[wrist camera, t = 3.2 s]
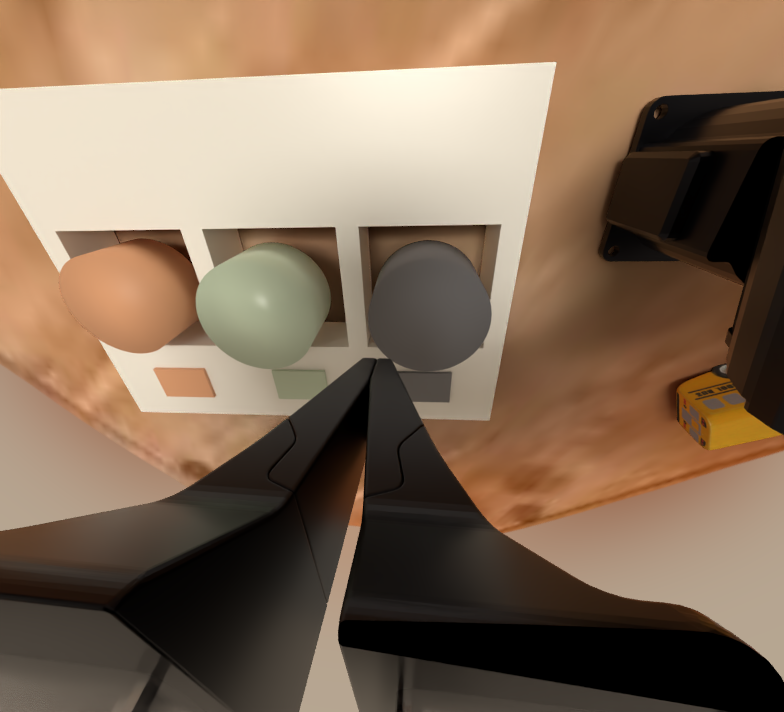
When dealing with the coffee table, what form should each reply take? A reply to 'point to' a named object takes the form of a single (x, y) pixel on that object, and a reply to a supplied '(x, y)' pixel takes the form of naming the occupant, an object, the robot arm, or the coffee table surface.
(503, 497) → the coffee table surface
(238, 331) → the sage button
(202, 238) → the panel
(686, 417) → the toy bus
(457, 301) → the charcoal button
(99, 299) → the rust button
